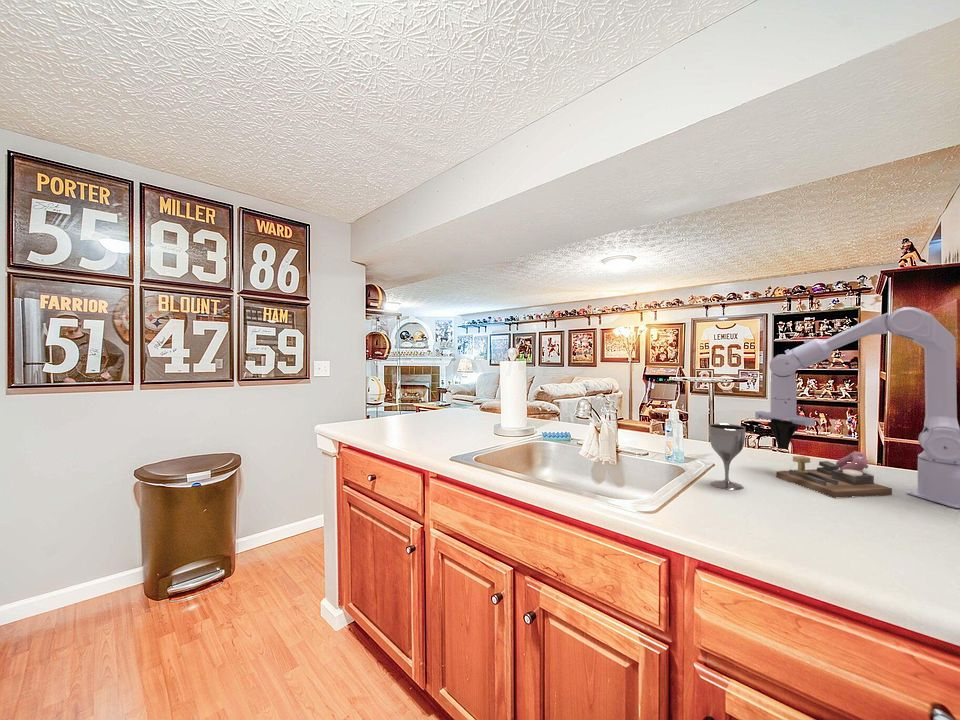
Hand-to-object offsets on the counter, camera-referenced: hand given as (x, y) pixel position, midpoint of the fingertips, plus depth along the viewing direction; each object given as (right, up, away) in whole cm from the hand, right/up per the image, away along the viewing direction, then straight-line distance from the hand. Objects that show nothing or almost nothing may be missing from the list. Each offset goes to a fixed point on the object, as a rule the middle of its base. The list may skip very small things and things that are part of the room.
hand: (783, 448), depth 111 cm
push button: (+9, -5, -10) cm, 15 cm away
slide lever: (+1, -5, -5) cm, 8 cm away
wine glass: (-20, -8, -8) cm, 23 cm away
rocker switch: (+9, -4, -4) cm, 11 cm away
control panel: (+5, -7, -9) cm, 13 cm away
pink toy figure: (+20, -7, +2) cm, 22 cm away
